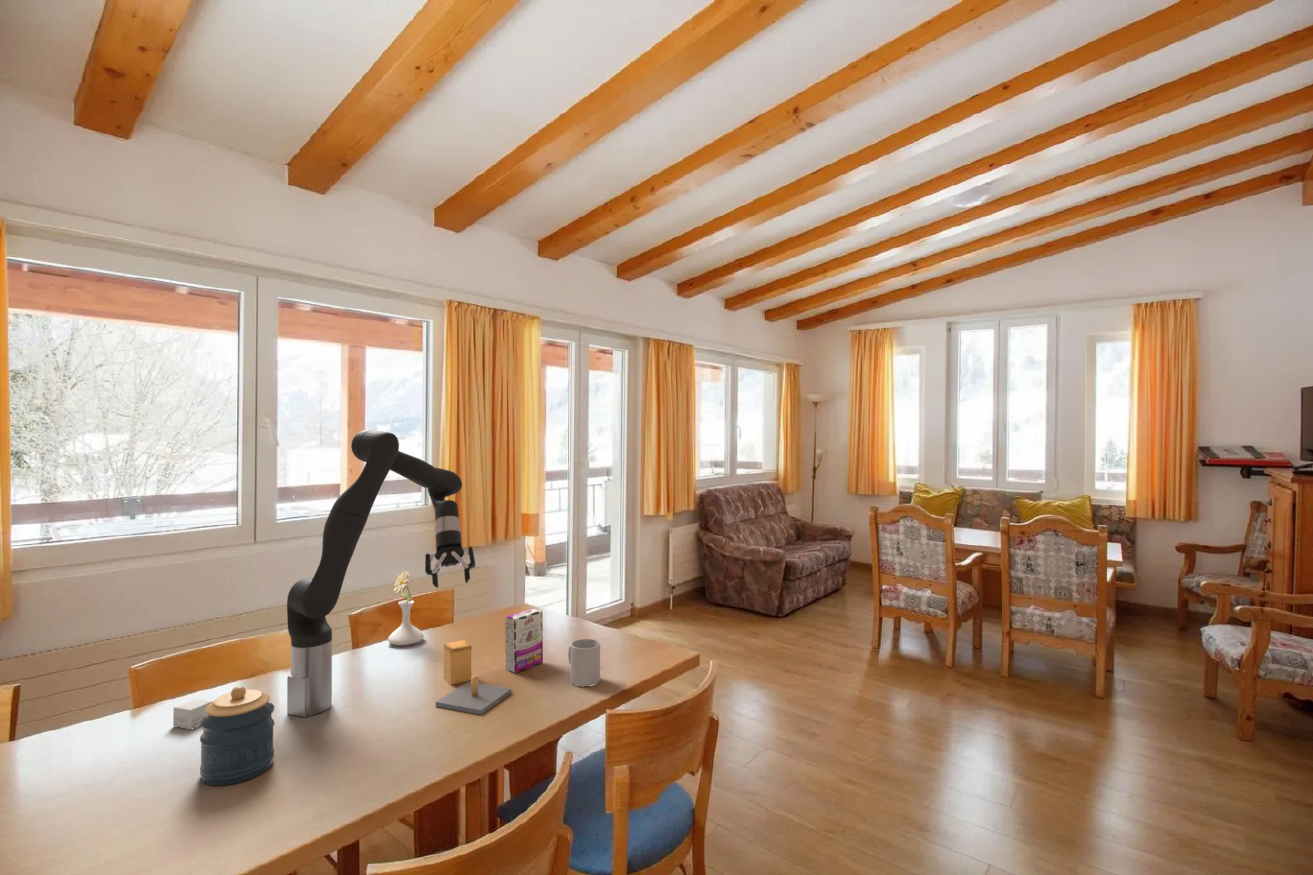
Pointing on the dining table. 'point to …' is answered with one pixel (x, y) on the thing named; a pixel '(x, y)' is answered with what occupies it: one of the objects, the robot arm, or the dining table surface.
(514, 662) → the candy bar box
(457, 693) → the peg plate
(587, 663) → the mug
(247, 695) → the canister
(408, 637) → the flower in vase
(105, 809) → the dining table surface
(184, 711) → the small box
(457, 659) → the upright tan block
